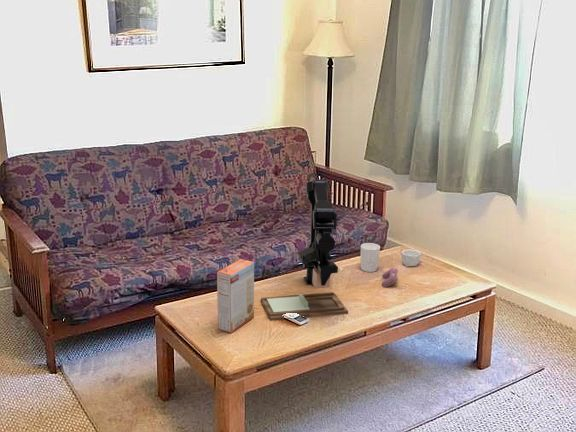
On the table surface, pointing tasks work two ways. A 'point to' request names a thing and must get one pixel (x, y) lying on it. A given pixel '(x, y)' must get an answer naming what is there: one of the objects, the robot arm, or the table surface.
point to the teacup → (410, 257)
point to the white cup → (369, 257)
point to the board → (311, 306)
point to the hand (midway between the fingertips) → (320, 282)
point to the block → (319, 280)
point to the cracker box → (235, 295)
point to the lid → (288, 304)
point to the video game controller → (389, 277)
